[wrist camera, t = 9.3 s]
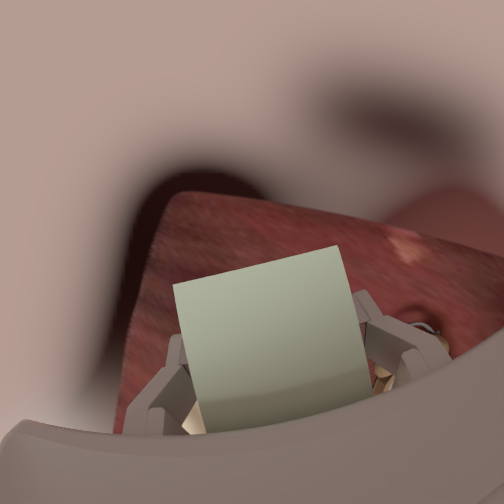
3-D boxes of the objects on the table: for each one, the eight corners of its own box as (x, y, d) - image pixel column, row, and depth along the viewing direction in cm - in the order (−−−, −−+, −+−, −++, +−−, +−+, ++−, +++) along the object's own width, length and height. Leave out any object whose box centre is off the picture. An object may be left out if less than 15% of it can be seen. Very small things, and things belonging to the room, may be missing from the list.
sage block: (306, 286, 15) (337, 245, 7) (325, 365, 14) (375, 405, 6) (226, 305, 15) (173, 285, 7) (244, 384, 14) (209, 442, 6)
